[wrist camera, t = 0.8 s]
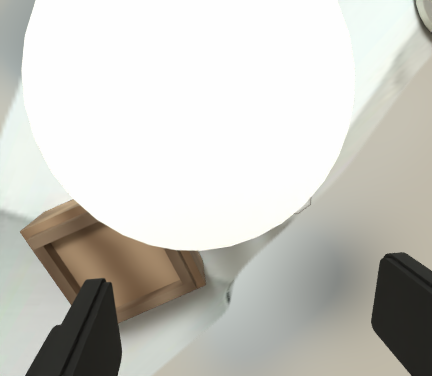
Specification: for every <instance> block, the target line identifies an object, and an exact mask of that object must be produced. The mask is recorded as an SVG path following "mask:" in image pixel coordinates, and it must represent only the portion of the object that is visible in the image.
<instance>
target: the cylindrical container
mask: <svg viewBox="0 0 432 376" xmlns="http://www.w3.org/2000/svg"><path fill="white" fill-rule="evenodd" d="M22 81H23V92H24V103H25V108H26V111H27V115H28V118H29V122H30V125H31V129H32V132H33V136H34V139H35V141H36V143H37V145H38V147H39V149H40V151H41V153H42V155H43V157H44V159H45V161H46V163H47V165H48V167H49V169H50V170H51V172H52V173H53V174H54V176H55V177H56V178H57V179H58V181H59V182H60V183H61V185H62V186H63V187H64V188H65V190H66V191H67V192H68V194H69V195H70V196H71V197H72V198H73V199H74V200H75V201H76V202H77V203H78V204H80V205H81V206H82V207H83V208H84V209H85V210H86V211H87V212H89V213H90V214H91V215H92V216H93V217H94V218H95V219H97V220H98V221H100V222H102V223H103V224H105V225H107V226H109V227H110V228H112V229H114V230H115V231H117V232H119V233H120V234H122V235H124V236H127V237H129V238H132V239H135V240H138V241H140V242H143V243H146V244H148V245H152V246H157V247H162V248H168V249H173V250H195V251H204V250H210V249H217V248H223V247H230V246H233V245H236V244H239V243H242V242H245V241H248V240H250V239H253V238H256V237H258V236H260V235H262V234H264V233H265V232H267V231H269V230H271V229H273V228H274V227H276V226H278V225H280V224H281V223H283V222H284V221H285V220H287V219H288V218H289V217H290V216H291V215H293V214H294V213H295V212H296V211H297V210H299V209H300V208H301V207H302V206H303V205H305V203H306V202H307V201H308V200H309V199H310V197H311V196H312V195H313V194H314V193H315V192H316V190H317V189H318V188H319V187H320V186H321V184H322V183H323V182H324V180H325V179H326V177H327V175H328V173H329V172H330V170H331V168H332V167H333V165H334V163H335V161H336V160H337V158H338V156H339V153H340V151H341V148H342V145H343V143H344V140H345V137H346V135H347V132H348V129H349V124H350V119H351V114H352V109H353V104H354V83H355V67H354V60H353V53H352V47H351V40H350V35H349V32H348V29H347V26H346V23H345V20H344V18H343V15H342V12H341V9H340V6H339V4H338V1H337V0H36V2H35V5H34V8H33V12H32V15H31V18H30V21H29V24H28V28H27V31H26V35H25V41H24V51H23V61H22Z"/></svg>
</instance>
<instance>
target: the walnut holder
mask: <svg viewBox="0 0 432 376" xmlns="http://www.w3.org/2000/svg"><path fill="white" fill-rule="evenodd" d="M20 233H21V234H22V236H23V237H24V239H25V240H26V242H27V243H28V244H29V246H30V247H31V249H32V250H33V252H34V253H35V254H36V256H37V257H38V259H39V260H40V261H41V263H42V264H43V266H44V267H45V269H46V270H47V271H48V273H49V274H50V276H51V277H52V279H53V280H54V281H55V283H56V284H57V286H58V287H59V288H60V290H61V291H62V293H63V294H64V296H65V297H66V298H67V300H68V301H69V303H70V304H71V305H72V304H73V302H74V300H75V298H76V296H77V294H78V293H79V291H80V289H81V287H82V285H83V283H84V282H85V280H87V279H97V278H105V279H106V282H111V283H112V286H113V293H114V299H115V306H116V313H117V320H118V323H120V322H122V321H125V320H127V319H129V318H132V317H134V316H136V315H138V314H141V313H143V312H145V311H148V310H150V309H152V308H154V307H157V306H159V305H161V304H164V303H166V302H168V301H170V300H173V299H175V298H177V297H180V296H182V295H184V294H186V293H189V292H191V291H193V290H196V289H198V288H200V287H202V286H205V285H206V280H205V274H204V267H203V260H202V258H201V256H200V254H199V252H198V251H195V250H173V249H168V248H162V247H157V246H152V245H148V244H146V243H143V242H140V241H138V240H135V239H132V238H129V237H127V236H124V235H122V234H120V233H119V232H117V231H115V230H114V229H112V228H110V227H109V226H107V225H105V224H103V223H102V222H100V221H98V220H97V219H95V218H94V217H93V216H92V215H91V214H90V213H89V212H87V211H86V210H85V209H84V208H83V207H82V206H81V205H80V204H78V203H77V202H76V201H75V200H74V199H73V200H71V201H68V202H66V203H64V204H61V205H59V206H57V207H55V208H52V209H50V210H48V211H45V212H43V213H42V214H41V215H40V216H38V217H37V218H36V219H35V220H34V221H32V222H31V223H30V224H29V225H27V226H26V227H25V228H24V229H22V230H21V231H20Z"/></svg>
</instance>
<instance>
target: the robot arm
mask: <svg viewBox="0 0 432 376" xmlns="http://www.w3.org/2000/svg"><path fill="white" fill-rule="evenodd" d="M416 5H417V8H418V12H419V15H420V17H421V19H422V21H423V22H424V24H425V26H426V27H427V28H428V29H429V31H430V32H431V33H432V0H416ZM371 323H372V327H373V329H374V331H375V332H376V334H377V335H378V336H379V337H380V338H381V340H382V341H383V342H384V343H385V345H386V346H387V347H388V348H389V349H390V351H391V352H392V353H393V354H394V355H395V356H396V358H397V359H398V360H399V361H400V362H401V363H402V365H403V366H404V367H405V368H406V369H407V371H408V372H409V373H410V374H411V376H432V271H431V270H430V269H428V268H427V267H425V266H424V265H422V264H421V263H419V262H418V261H416V260H415V259H413V258H412V257H410V256H409V255H408V254H406V253H402V252H401V253H389V254H386V255H385V256H384V258H383V259H381V260H380V265H379V271H378V279H377V285H376V292H375V299H374V305H373V312H372V319H371ZM121 357H122V347H121V340H120V333H119V326H118V320H117V313H116V306H115V299H114V293H113V286H112V283H111V282H106V279H105V278H97V279H87V280H85V282H84V283H83V285H82V287H81V289H80V291H79V293H78V294H77V296H76V298H75V300H74V302H73V304H72V306H71V307H70V309H69V311H68V313H67V315H66V317H65V319H64V320H63V322H62V324H61V325H56V326H55V327H53V329H52V330H51V331H50V333H49V335H48V336H47V338H46V340H45V342H44V343H43V345H42V347H41V349H40V350H39V352H38V354H37V356H36V357H35V359H34V361H33V363H32V364H31V366H30V368H29V370H28V371H27V373H26V375H25V376H118V371H119V367H120V363H121Z"/></svg>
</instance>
